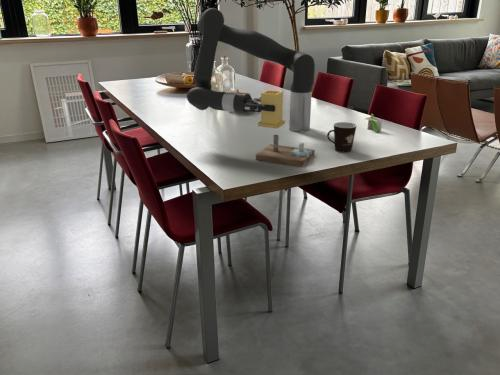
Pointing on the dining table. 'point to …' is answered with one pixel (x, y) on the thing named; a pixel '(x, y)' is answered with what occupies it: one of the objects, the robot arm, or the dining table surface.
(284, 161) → the gear board
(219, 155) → the dining table surface
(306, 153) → the gear
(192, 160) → the dining table surface
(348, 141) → the coffee mug
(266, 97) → the yellow hollow block
